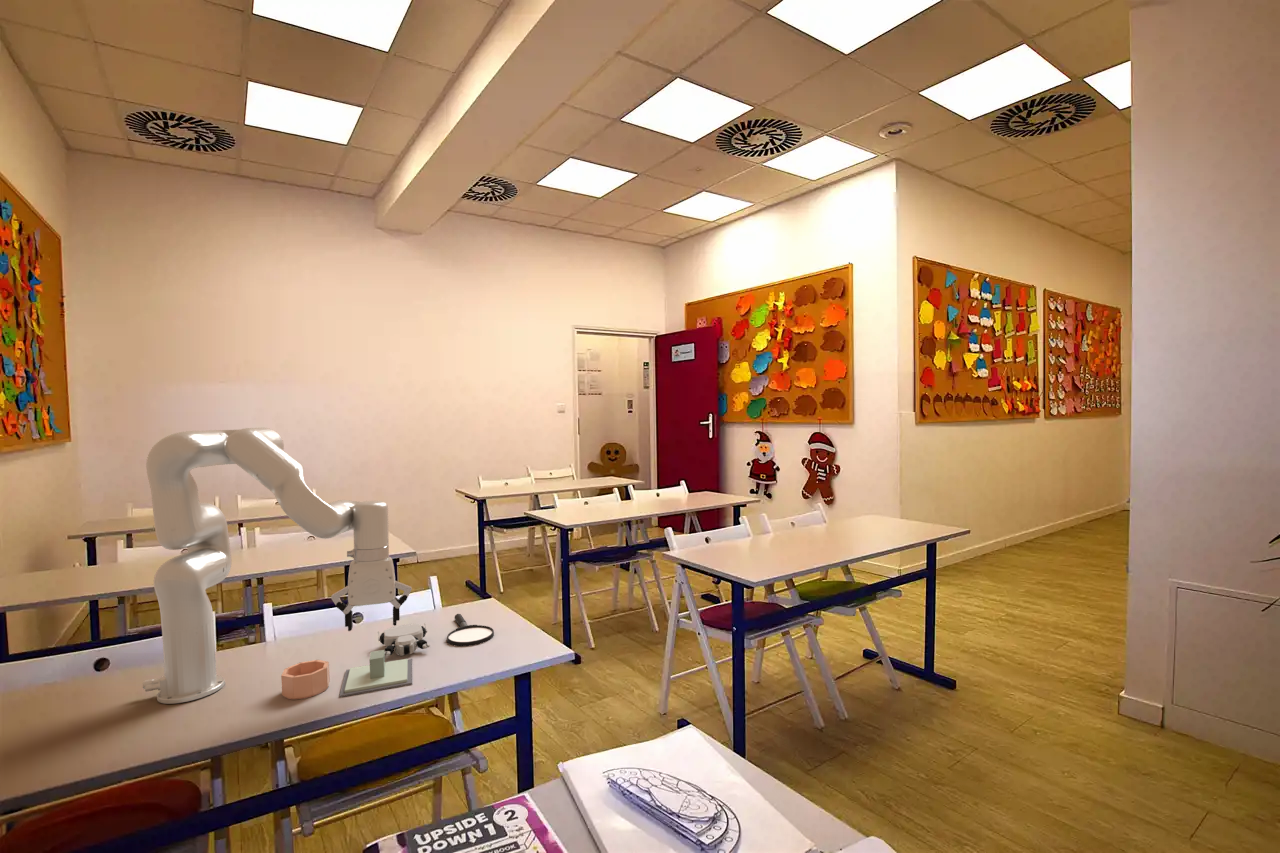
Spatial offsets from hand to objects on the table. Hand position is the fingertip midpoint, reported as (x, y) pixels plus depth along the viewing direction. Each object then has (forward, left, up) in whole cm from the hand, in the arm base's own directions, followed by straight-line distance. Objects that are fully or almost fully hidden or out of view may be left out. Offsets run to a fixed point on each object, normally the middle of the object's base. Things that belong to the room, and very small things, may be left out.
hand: (372, 626), depth 144 cm
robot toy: (+6, +17, -13) cm, 22 cm away
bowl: (-14, 0, -12) cm, 19 cm away
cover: (+1, 0, -12) cm, 12 cm away
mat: (+1, 0, -12) cm, 12 cm away
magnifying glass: (+23, +23, -13) cm, 35 cm away
